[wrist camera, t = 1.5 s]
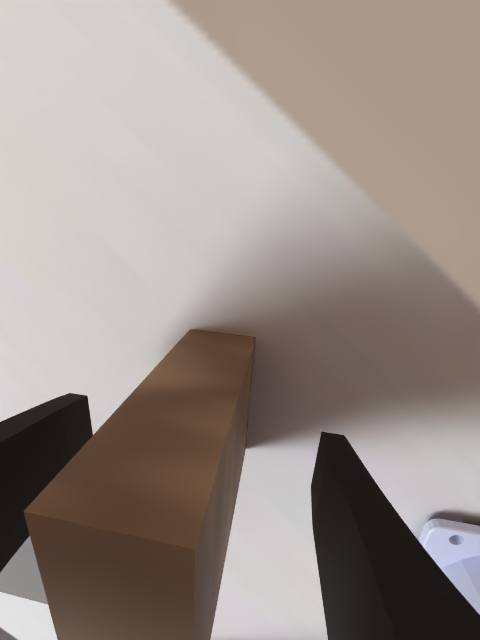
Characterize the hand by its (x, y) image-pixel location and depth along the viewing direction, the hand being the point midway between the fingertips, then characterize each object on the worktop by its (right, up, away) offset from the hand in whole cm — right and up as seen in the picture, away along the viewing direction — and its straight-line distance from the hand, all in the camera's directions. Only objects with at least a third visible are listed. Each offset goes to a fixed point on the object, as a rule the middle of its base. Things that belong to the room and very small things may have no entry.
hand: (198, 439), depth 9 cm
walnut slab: (0, +1, +3) cm, 3 cm away
